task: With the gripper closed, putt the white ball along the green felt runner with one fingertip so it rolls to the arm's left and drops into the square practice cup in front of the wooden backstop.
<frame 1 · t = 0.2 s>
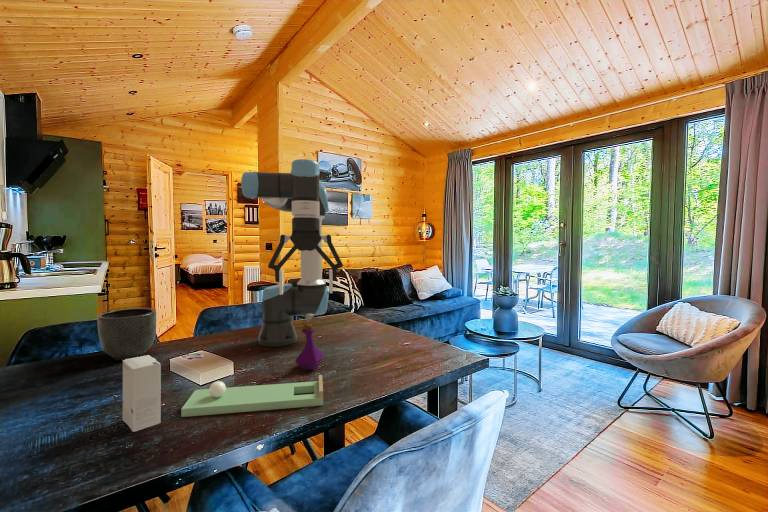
hand: (306, 293, 103), 28 cm above the table, fingers open, 13 cm apart
green: (258, 401, 97), on the table
perfume bottle: (310, 368, 122), on the table
planter: (129, 357, 131), on the table
ball: (217, 389, 95), point 4 cm above the table, touching green
skincare box: (142, 422, 86), on the table
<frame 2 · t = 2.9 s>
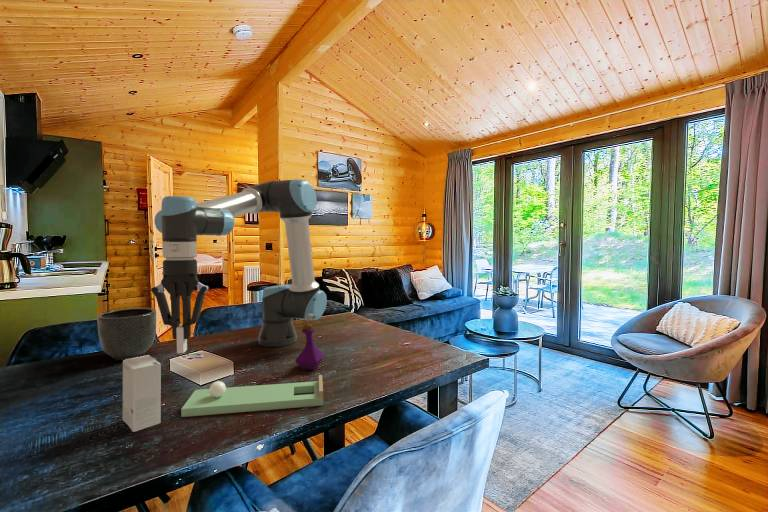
hand: (182, 351, 93), 15 cm above the table, fingers closed
nothing on the table moved.
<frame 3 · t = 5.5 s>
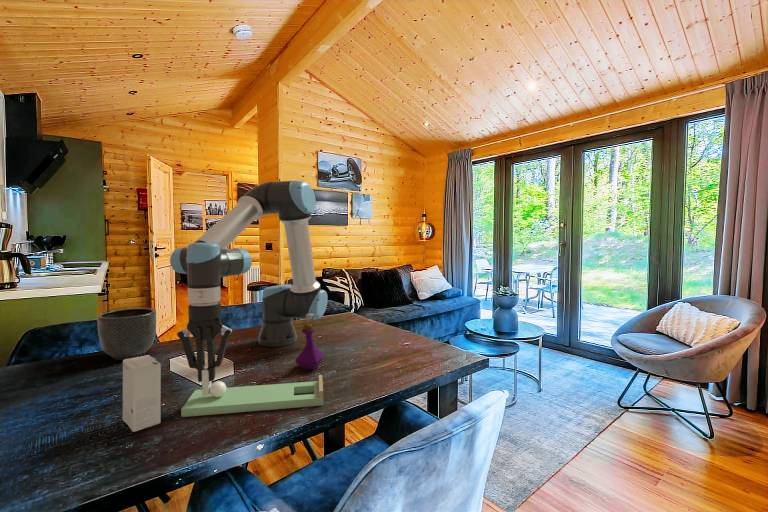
hand: (207, 393, 95), 3 cm above the table, fingers closed
ball: (217, 389, 95), point 4 cm above the table, touching green, gripper
everything else where it was.
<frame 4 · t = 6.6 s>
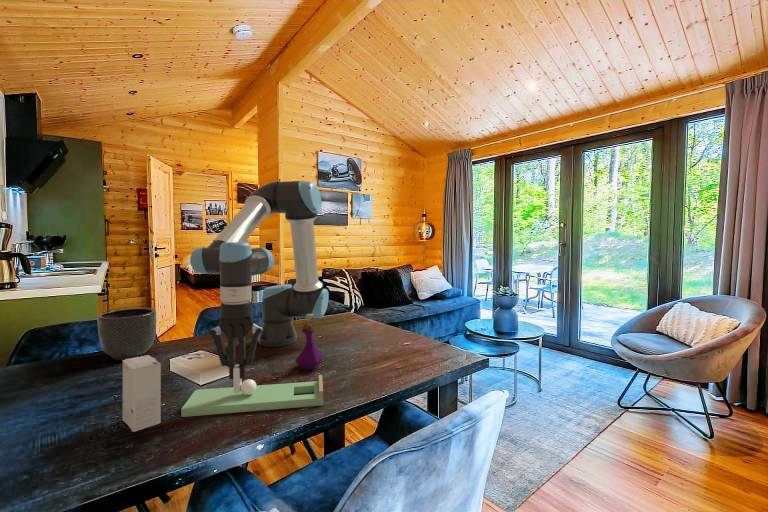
hand: (237, 390, 96), 3 cm above the table, fingers closed
ball: (248, 387, 96), point 4 cm above the table, tilted 174°, touching green, gripper
everything else where it was.
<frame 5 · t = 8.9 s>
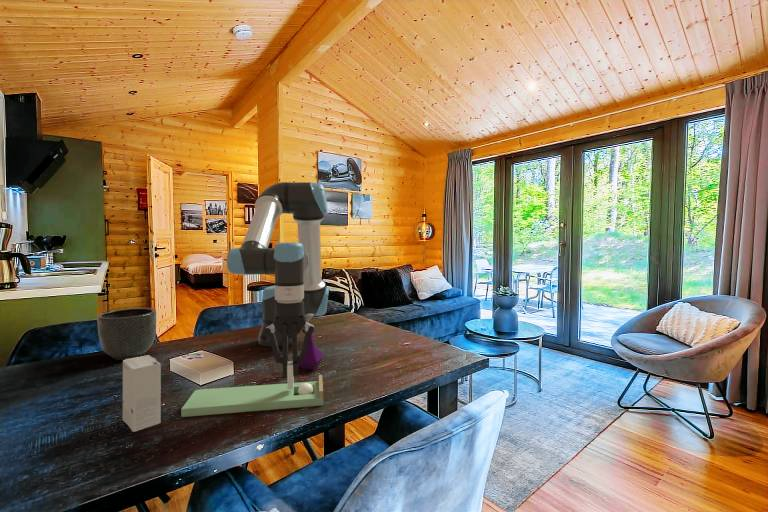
hand: (290, 386, 99), 3 cm above the table, fingers closed
ball: (305, 390, 99), point 2 cm above the table, tilted 141°
everything else where it was.
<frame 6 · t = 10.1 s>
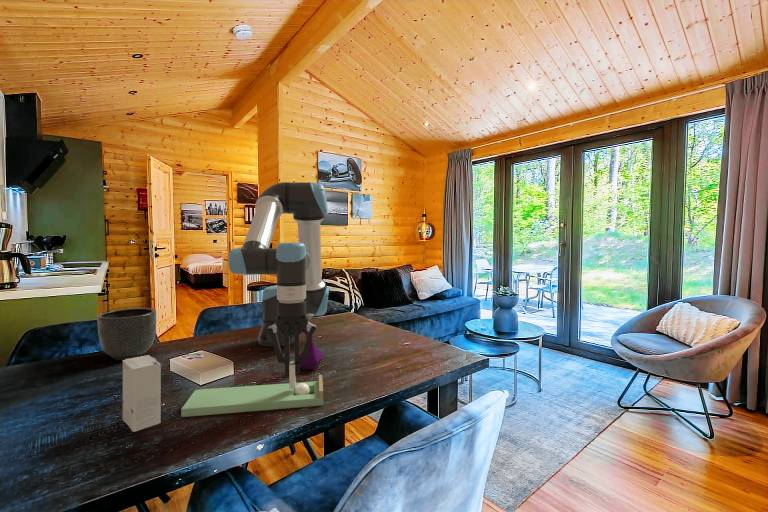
hand: (292, 386, 99), 3 cm above the table, fingers closed
ball: (302, 390, 99), point 2 cm above the table, tilted 168°, touching gripper
everything else where it was.
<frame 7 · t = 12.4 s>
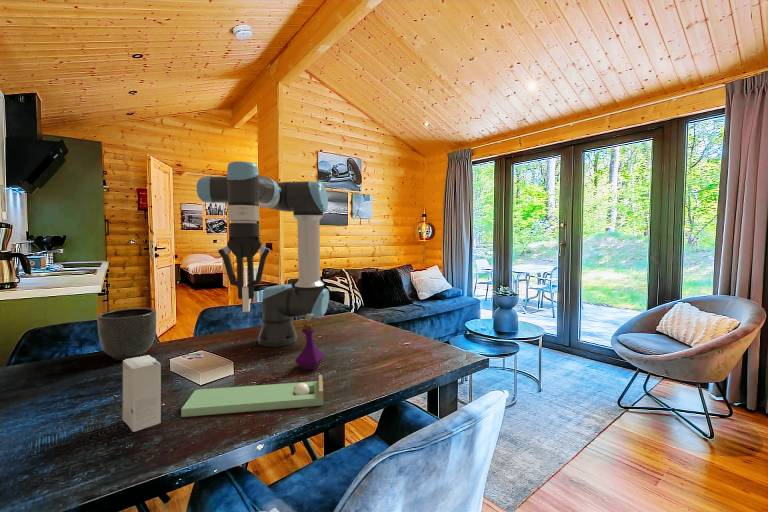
hand: (246, 310, 98), 24 cm above the table, fingers closed
ball: (301, 390, 99), point 2 cm above the table, tilted 171°
everything else where it was.
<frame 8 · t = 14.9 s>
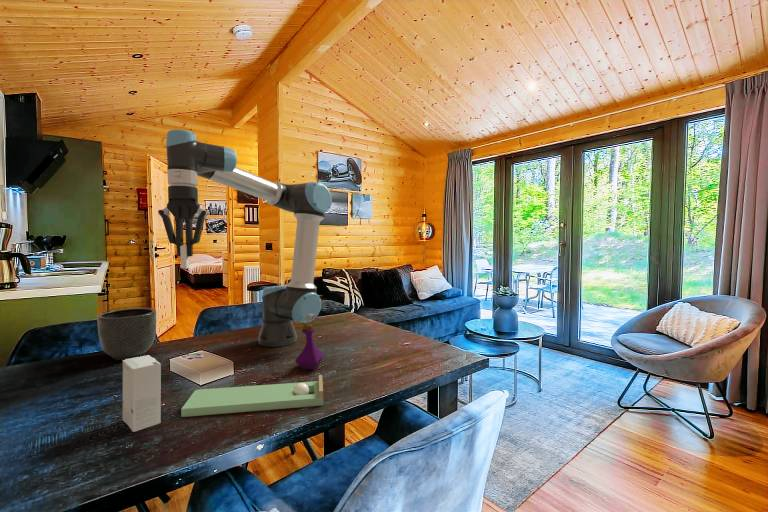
hand: (185, 267, 107), 34 cm above the table, fingers closed
nothing on the table moved.
at the end: ball 0.7 cm from the target spot on the green, point 2.0 cm above the green's base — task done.
